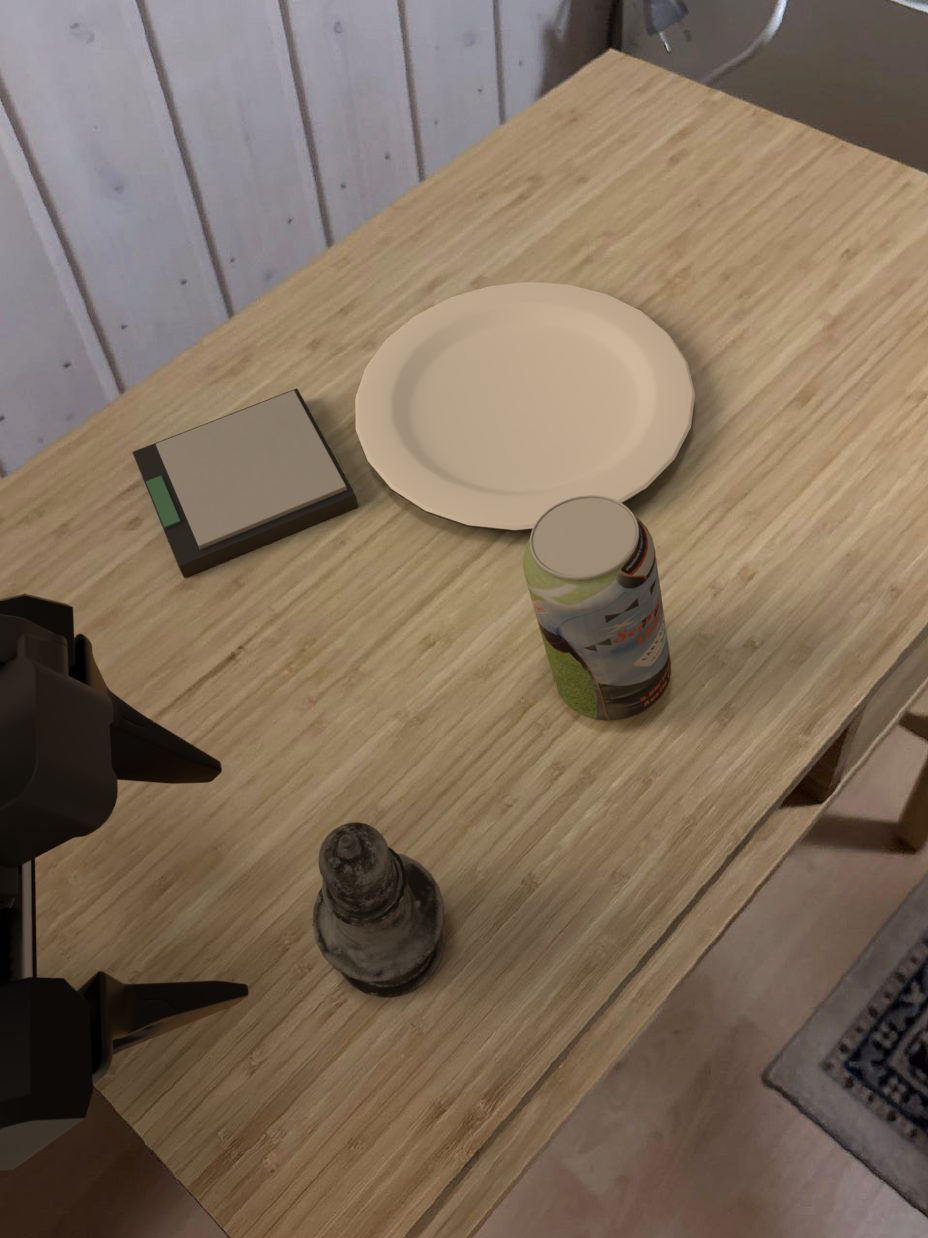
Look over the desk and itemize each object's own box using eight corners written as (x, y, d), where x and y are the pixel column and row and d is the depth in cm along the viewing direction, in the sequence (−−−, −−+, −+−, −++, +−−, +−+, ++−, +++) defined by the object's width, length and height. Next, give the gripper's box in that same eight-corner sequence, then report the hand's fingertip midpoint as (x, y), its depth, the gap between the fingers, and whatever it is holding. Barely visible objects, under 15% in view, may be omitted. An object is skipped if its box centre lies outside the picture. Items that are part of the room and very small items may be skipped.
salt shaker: (305, 977, 53) (242, 882, 43) (359, 863, 56) (310, 750, 46) (422, 1023, 51) (383, 936, 41) (470, 904, 54) (445, 796, 44)
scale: (184, 578, 66) (176, 562, 65) (138, 464, 72) (129, 447, 71) (358, 507, 68) (354, 489, 67) (300, 401, 74) (295, 383, 72)
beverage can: (652, 746, 58) (665, 613, 48) (514, 708, 60) (500, 573, 50) (683, 646, 61) (702, 502, 51) (551, 612, 63) (545, 467, 53)
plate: (761, 457, 68) (765, 437, 66) (445, 599, 64) (442, 582, 63) (587, 260, 79) (587, 239, 77) (308, 372, 75) (303, 352, 74)
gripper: (-167, 1054, 25) (400, 1048, 34) (-116, 438, 35) (308, 567, 45) (-300, 1198, 31) (213, 1159, 41) (-223, 637, 41) (171, 713, 51)
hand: (229, 877), depth 44 cm, fingers open, 9 cm apart
